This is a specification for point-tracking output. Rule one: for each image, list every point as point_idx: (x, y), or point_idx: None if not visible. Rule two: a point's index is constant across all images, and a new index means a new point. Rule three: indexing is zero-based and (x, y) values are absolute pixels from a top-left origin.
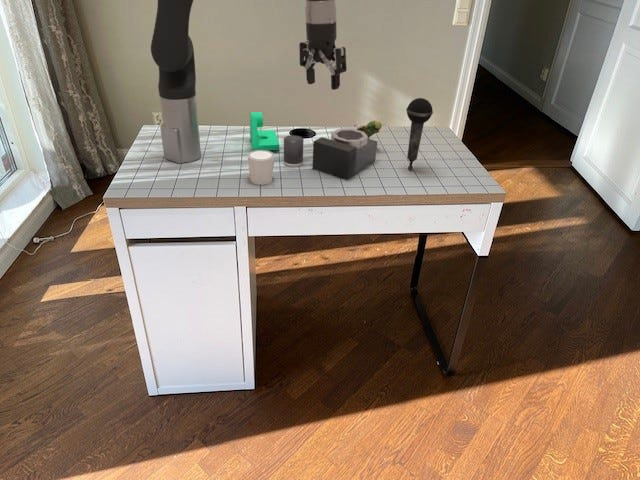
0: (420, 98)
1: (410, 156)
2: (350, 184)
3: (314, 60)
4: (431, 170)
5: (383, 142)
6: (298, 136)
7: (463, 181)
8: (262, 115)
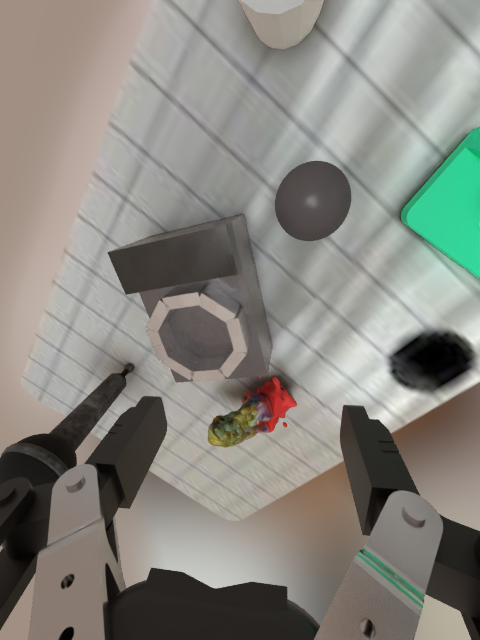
0: None
1: (109, 377)
2: (130, 226)
3: (307, 615)
4: None
5: None
6: (318, 236)
7: (63, 385)
8: None
